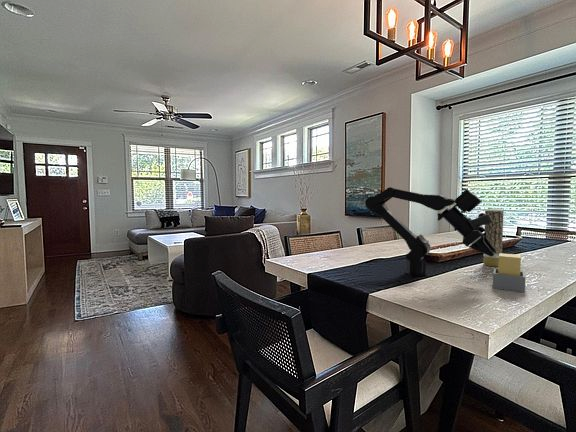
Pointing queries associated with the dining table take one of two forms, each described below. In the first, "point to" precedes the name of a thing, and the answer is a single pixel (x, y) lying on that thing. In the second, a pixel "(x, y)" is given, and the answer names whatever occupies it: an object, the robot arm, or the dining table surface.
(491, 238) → the bark textured cylinder
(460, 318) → the dining table surface
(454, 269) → the dining table surface
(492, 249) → the robot arm
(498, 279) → the sleeve
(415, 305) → the dining table surface
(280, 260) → the dining table surface
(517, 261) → the ochre block
